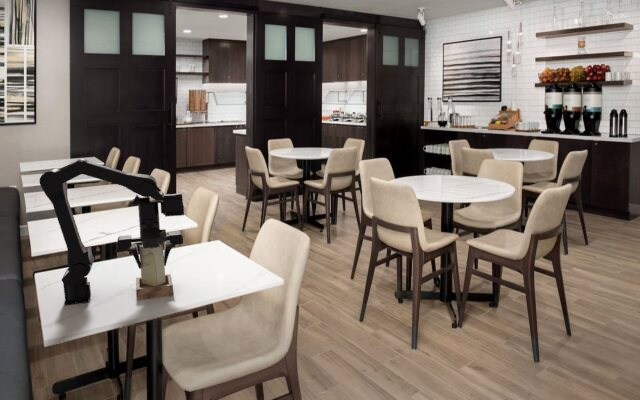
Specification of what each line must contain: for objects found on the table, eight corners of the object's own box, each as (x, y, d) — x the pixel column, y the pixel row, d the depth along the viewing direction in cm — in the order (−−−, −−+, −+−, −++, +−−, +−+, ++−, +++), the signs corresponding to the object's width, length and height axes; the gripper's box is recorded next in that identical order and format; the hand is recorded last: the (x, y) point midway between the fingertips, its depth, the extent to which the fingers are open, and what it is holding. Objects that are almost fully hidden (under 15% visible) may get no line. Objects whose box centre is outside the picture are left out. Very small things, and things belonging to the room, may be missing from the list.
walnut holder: (136, 300, 157) (135, 289, 156) (136, 287, 166) (135, 277, 166) (173, 295, 160) (172, 285, 159) (171, 283, 170) (170, 273, 169)
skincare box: (141, 283, 162) (137, 245, 160) (152, 278, 166) (148, 241, 164) (156, 287, 159) (152, 248, 157) (167, 282, 163) (163, 244, 160)
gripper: (115, 226, 148) (119, 279, 151) (183, 221, 154) (186, 272, 157) (116, 217, 158) (120, 267, 161) (180, 213, 164) (182, 260, 167)
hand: (152, 267), depth 162 cm, fingers closed on skincare box, 7 cm apart
